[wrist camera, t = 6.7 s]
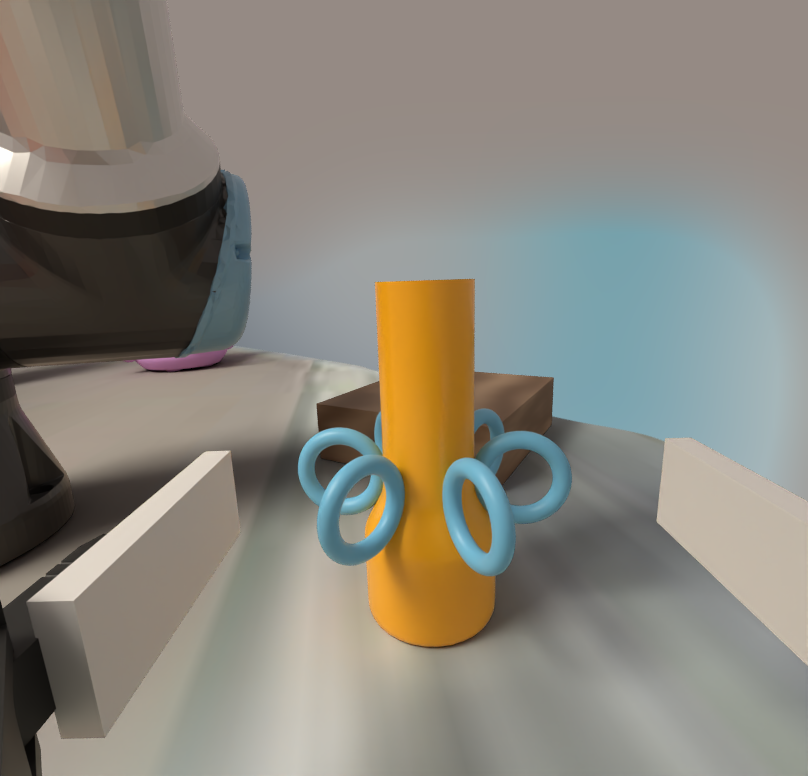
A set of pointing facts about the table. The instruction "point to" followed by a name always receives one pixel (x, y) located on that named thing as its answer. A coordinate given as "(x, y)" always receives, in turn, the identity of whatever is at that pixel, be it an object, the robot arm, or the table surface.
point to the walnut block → (502, 393)
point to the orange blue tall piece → (428, 474)
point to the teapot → (182, 361)
